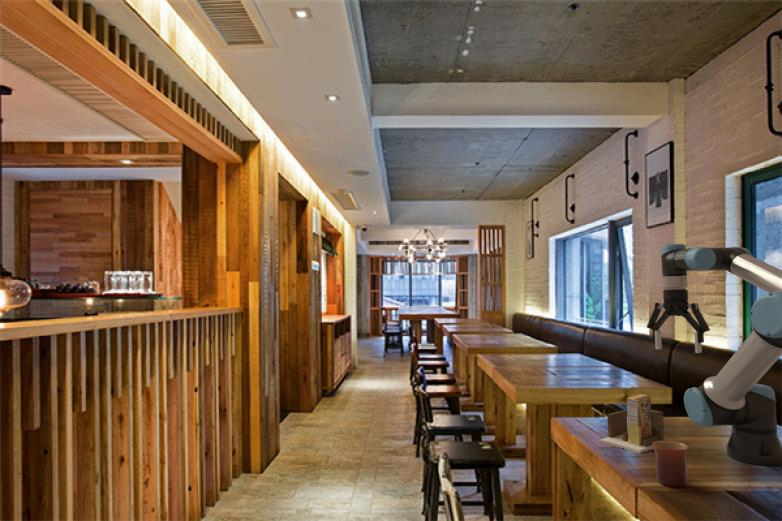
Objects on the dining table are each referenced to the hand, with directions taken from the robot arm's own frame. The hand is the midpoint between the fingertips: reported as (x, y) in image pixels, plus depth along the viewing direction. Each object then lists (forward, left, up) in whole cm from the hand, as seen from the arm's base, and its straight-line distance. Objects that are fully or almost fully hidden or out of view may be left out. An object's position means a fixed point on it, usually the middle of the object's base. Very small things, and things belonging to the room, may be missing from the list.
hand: (678, 350), depth 178 cm
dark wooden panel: (+17, +10, -32) cm, 37 cm away
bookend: (+8, +10, -32) cm, 34 cm away
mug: (-16, +35, -32) cm, 50 cm away
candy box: (+8, +12, -31) cm, 34 cm away
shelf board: (+10, +12, -32) cm, 36 cm away
